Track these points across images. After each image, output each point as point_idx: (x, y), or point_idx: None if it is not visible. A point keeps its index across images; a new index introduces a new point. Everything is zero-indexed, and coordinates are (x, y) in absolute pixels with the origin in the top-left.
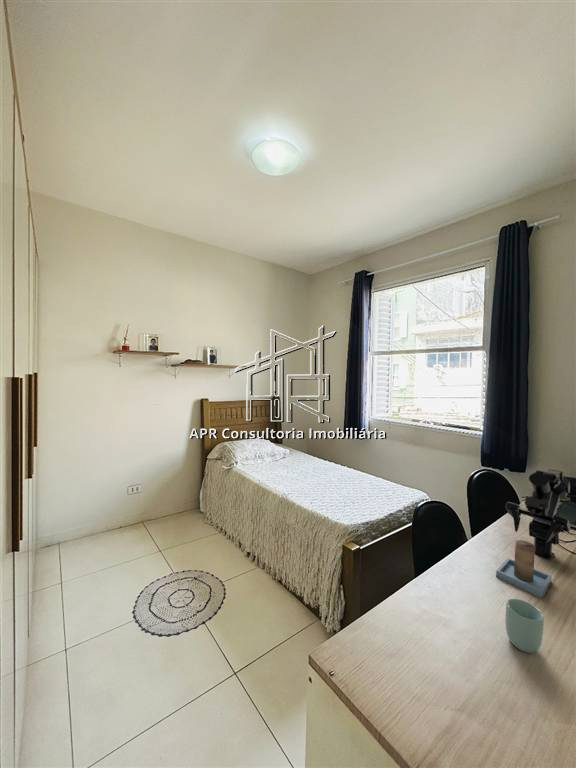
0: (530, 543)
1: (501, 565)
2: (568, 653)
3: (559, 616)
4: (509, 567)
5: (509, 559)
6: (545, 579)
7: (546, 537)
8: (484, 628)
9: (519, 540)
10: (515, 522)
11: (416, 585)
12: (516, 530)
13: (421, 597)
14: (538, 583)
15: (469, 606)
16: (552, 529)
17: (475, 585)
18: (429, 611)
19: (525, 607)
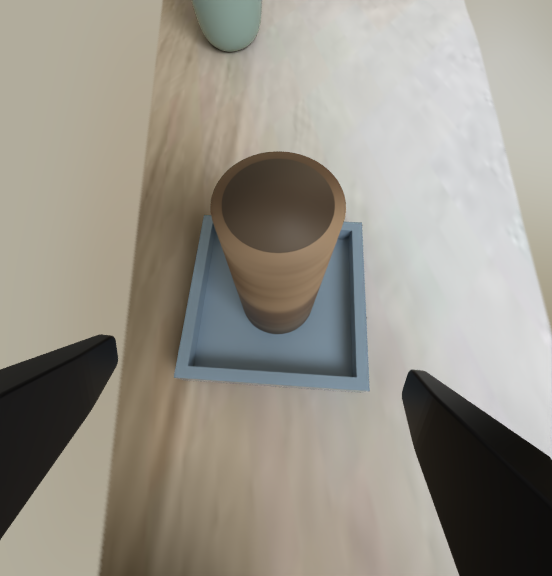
0: (245, 237)
1: (363, 280)
2: (155, 77)
3: (165, 179)
4: (339, 334)
5: (358, 378)
6: (202, 360)
7: (86, 352)
8: (300, 32)
9: (324, 225)
10: (506, 438)
11: (471, 42)
12: (410, 379)
13: (435, 21)
14: (224, 298)
15: (349, 63)
16: None
17: (378, 142)
18: (397, 3)
19: None
